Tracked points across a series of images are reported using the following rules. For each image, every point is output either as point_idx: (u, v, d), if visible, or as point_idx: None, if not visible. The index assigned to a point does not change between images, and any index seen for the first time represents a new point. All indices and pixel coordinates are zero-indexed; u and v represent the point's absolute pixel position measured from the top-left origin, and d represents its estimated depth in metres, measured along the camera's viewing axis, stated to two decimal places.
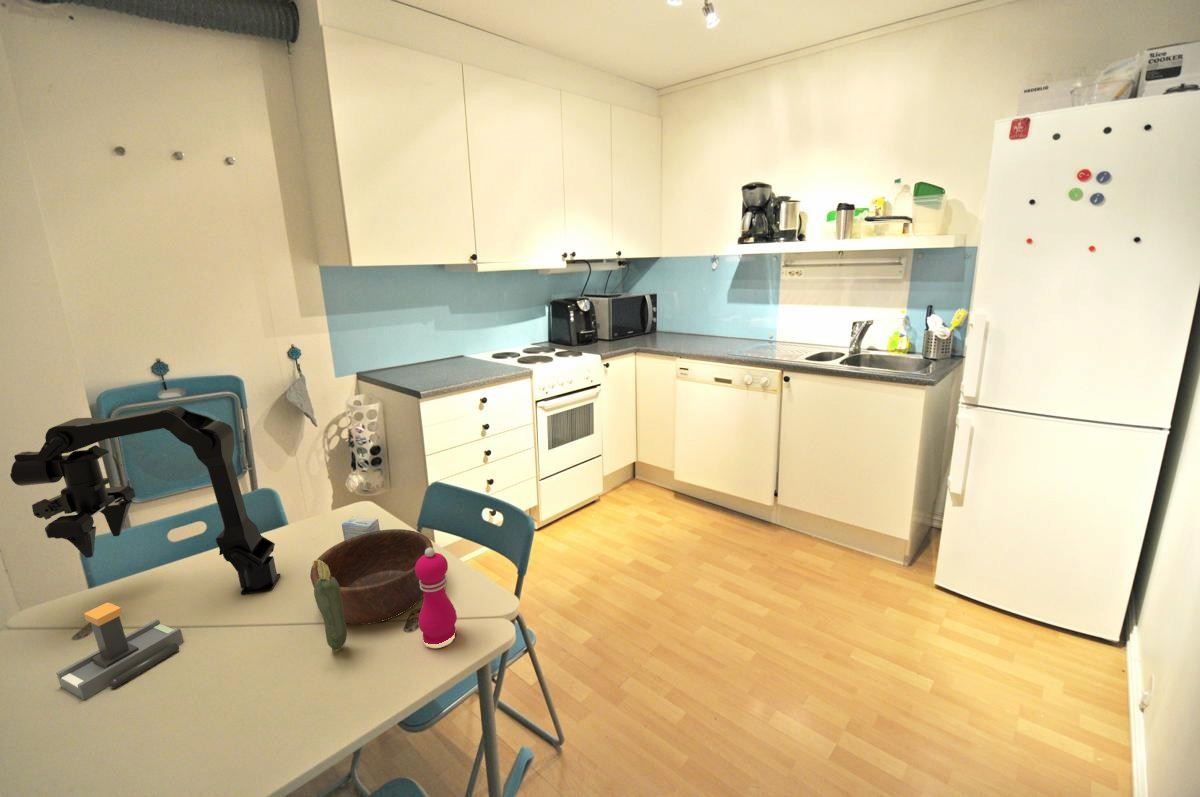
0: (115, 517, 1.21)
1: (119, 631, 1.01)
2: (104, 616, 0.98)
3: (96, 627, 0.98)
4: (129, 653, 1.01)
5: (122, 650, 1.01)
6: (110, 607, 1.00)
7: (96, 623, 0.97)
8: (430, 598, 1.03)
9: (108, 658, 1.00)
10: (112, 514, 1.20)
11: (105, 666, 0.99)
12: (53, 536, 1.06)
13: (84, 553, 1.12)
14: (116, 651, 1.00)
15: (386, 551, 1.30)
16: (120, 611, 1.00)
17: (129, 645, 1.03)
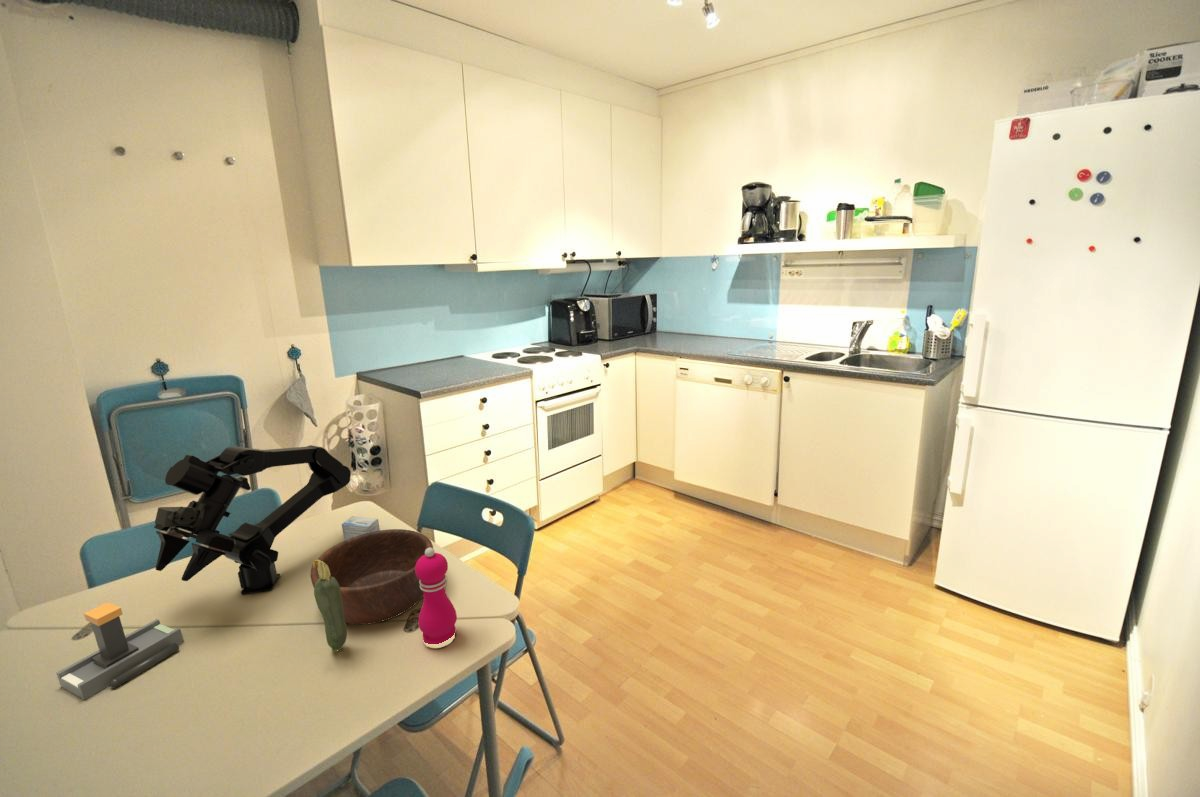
0: (172, 550, 1.14)
1: (119, 631, 1.01)
2: (104, 616, 0.98)
3: (96, 627, 0.98)
4: (129, 653, 1.01)
5: (122, 650, 1.01)
6: (110, 607, 1.00)
7: (96, 623, 0.97)
8: (430, 598, 1.03)
9: (108, 658, 1.00)
10: (172, 545, 1.14)
11: (105, 666, 0.99)
12: (212, 545, 1.07)
13: (187, 574, 1.07)
14: (116, 651, 1.00)
15: (386, 551, 1.30)
16: (120, 611, 1.00)
17: (129, 645, 1.03)
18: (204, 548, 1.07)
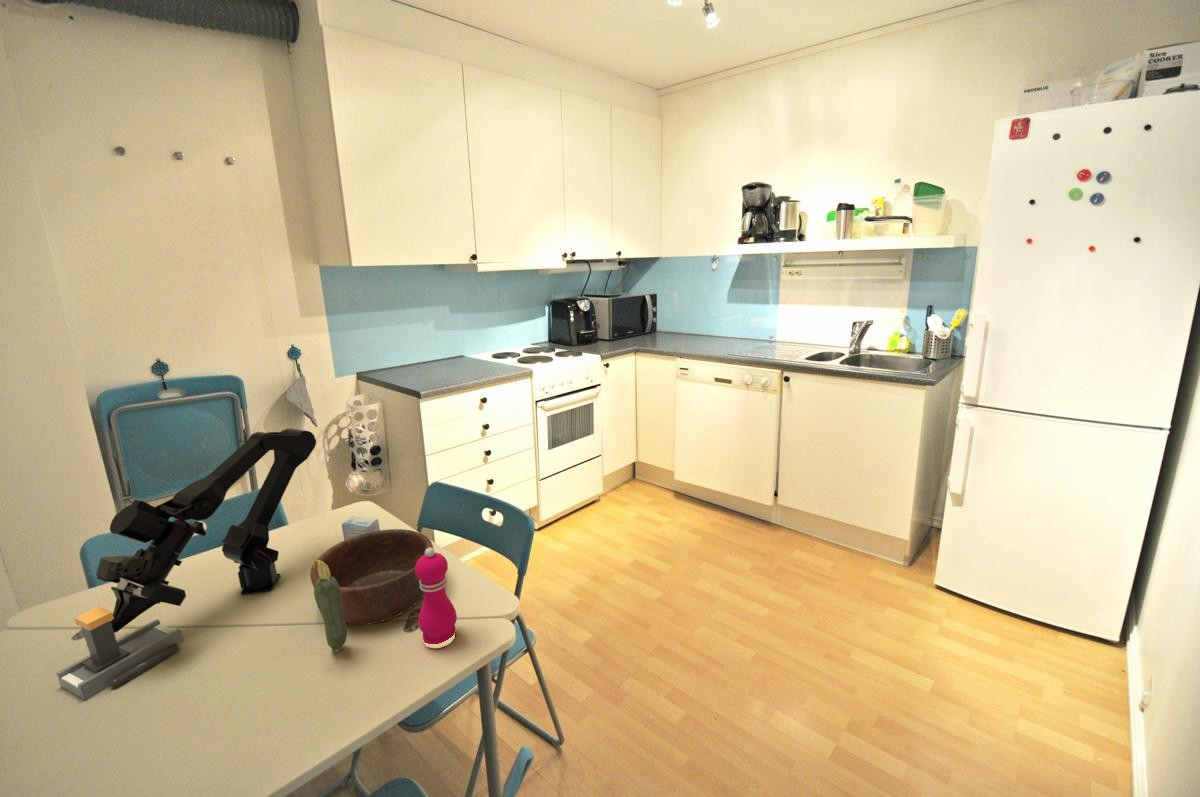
0: None
1: (110, 636, 0.99)
2: (95, 621, 0.96)
3: (87, 632, 0.97)
4: (120, 658, 1.00)
5: (113, 655, 1.00)
6: (101, 611, 0.99)
7: (87, 628, 0.96)
8: (430, 598, 1.03)
9: (99, 663, 0.98)
10: None
11: (96, 671, 0.97)
12: (159, 599, 0.99)
13: (117, 625, 1.01)
14: (107, 655, 0.99)
15: (386, 551, 1.30)
16: (111, 615, 0.99)
17: (121, 650, 1.02)
18: (136, 597, 1.01)
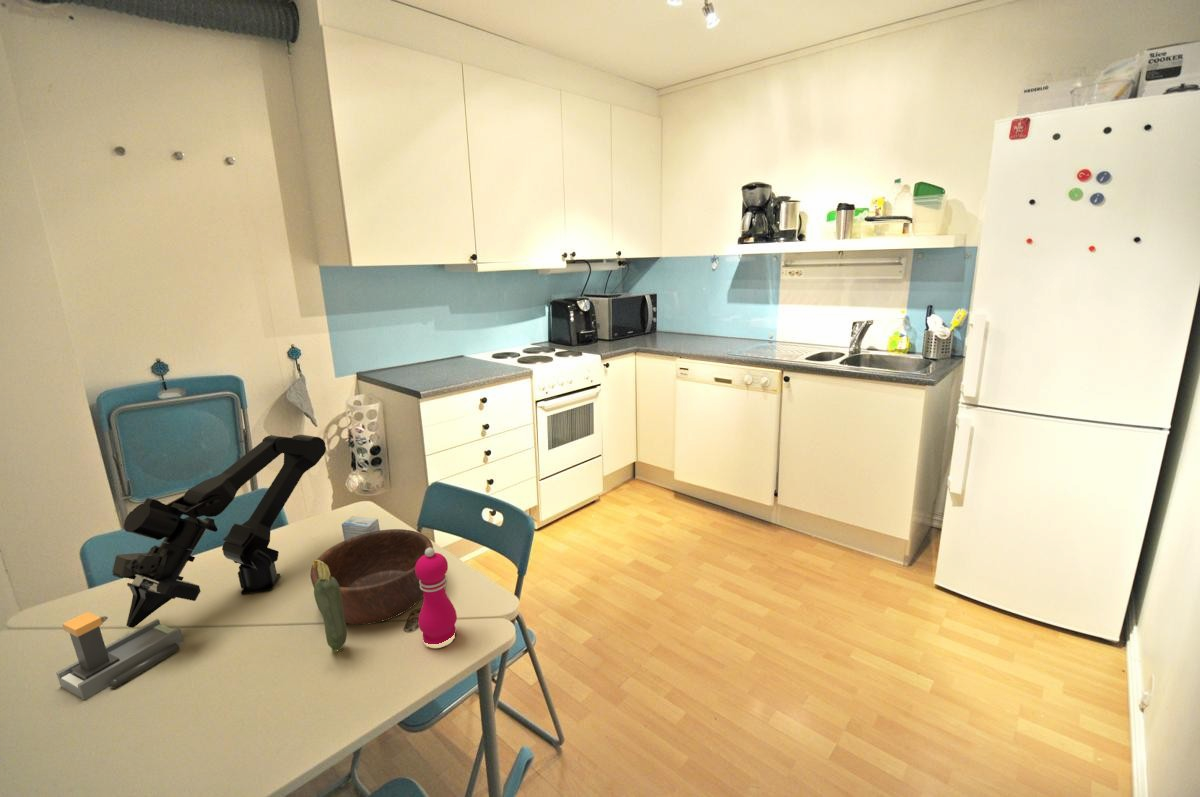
0: None
1: (99, 642, 0.98)
2: (83, 626, 0.95)
3: (75, 638, 0.96)
4: (109, 664, 0.99)
5: (102, 661, 0.98)
6: (90, 617, 0.97)
7: (75, 634, 0.94)
8: (430, 598, 1.03)
9: (87, 669, 0.97)
10: None
11: (84, 678, 0.96)
12: (174, 595, 1.01)
13: (134, 620, 1.03)
14: (96, 662, 0.98)
15: (386, 551, 1.30)
16: (100, 621, 0.97)
17: (110, 656, 1.01)
18: (152, 593, 1.03)
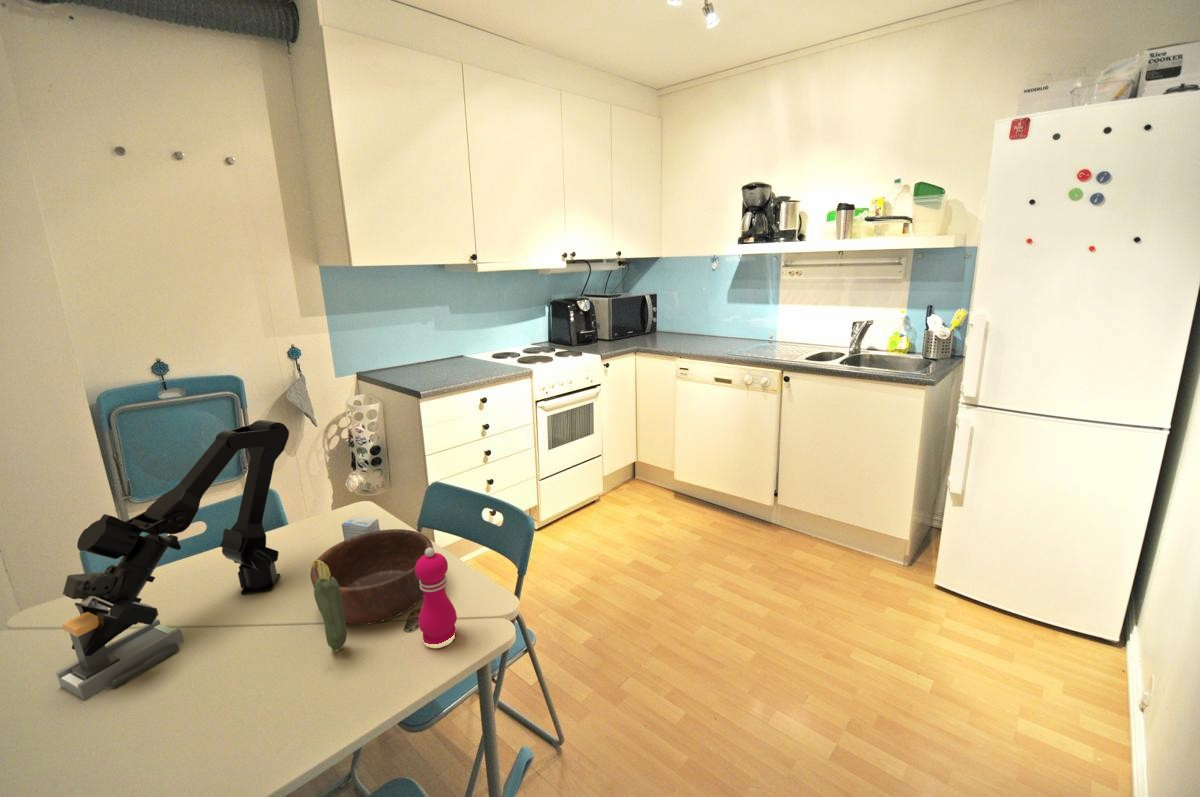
0: None
1: None
2: (83, 626, 0.95)
3: (75, 638, 0.96)
4: (109, 664, 0.99)
5: (102, 661, 0.98)
6: (90, 617, 0.97)
7: (75, 634, 0.94)
8: (430, 598, 1.03)
9: (87, 669, 0.97)
10: None
11: (84, 678, 0.96)
12: (128, 619, 0.95)
13: (91, 648, 0.96)
14: (96, 662, 0.98)
15: (386, 551, 1.30)
16: None
17: (110, 656, 1.01)
18: (111, 619, 0.96)
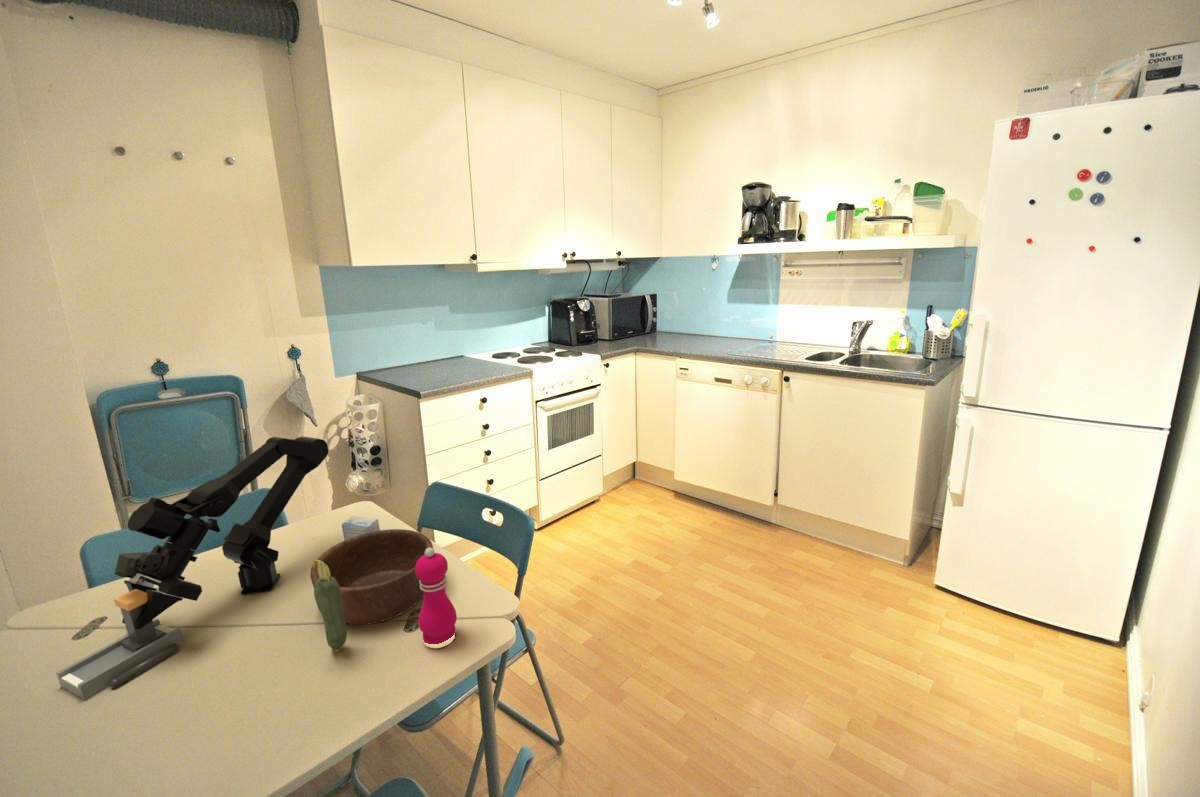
0: None
1: None
2: (133, 601, 1.02)
3: (126, 612, 1.02)
4: (156, 638, 1.05)
5: (150, 635, 1.05)
6: (139, 593, 1.04)
7: (126, 608, 1.01)
8: (430, 598, 1.03)
9: (137, 642, 1.04)
10: None
11: (134, 650, 1.03)
12: (176, 594, 1.02)
13: (141, 622, 1.03)
14: (144, 635, 1.04)
15: (386, 551, 1.30)
16: None
17: (156, 630, 1.07)
18: (159, 594, 1.03)
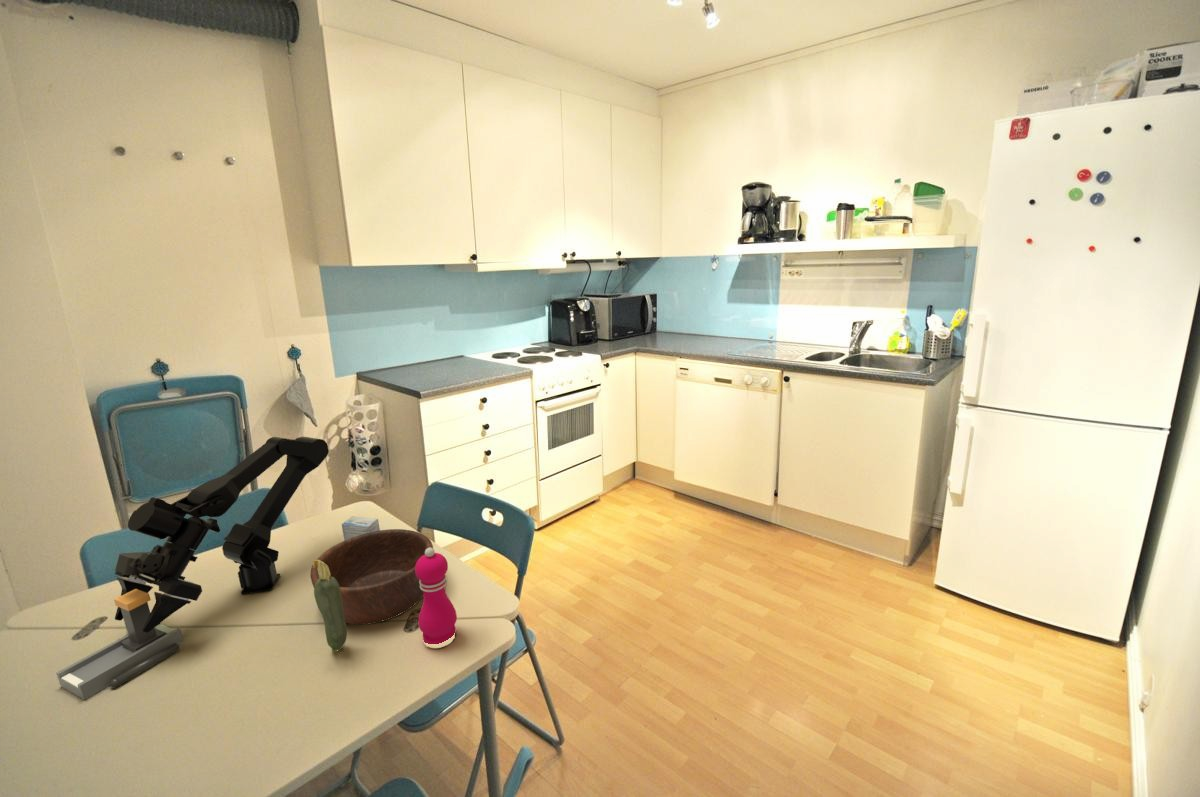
0: None
1: (147, 616, 1.05)
2: (133, 601, 1.02)
3: (126, 612, 1.02)
4: (156, 638, 1.05)
5: (150, 635, 1.05)
6: (139, 593, 1.04)
7: (126, 608, 1.01)
8: (430, 598, 1.03)
9: (137, 642, 1.04)
10: None
11: (134, 650, 1.03)
12: (176, 594, 1.02)
13: (149, 625, 1.02)
14: (144, 635, 1.04)
15: (386, 551, 1.30)
16: (148, 597, 1.04)
17: (156, 630, 1.07)
18: (167, 597, 1.02)
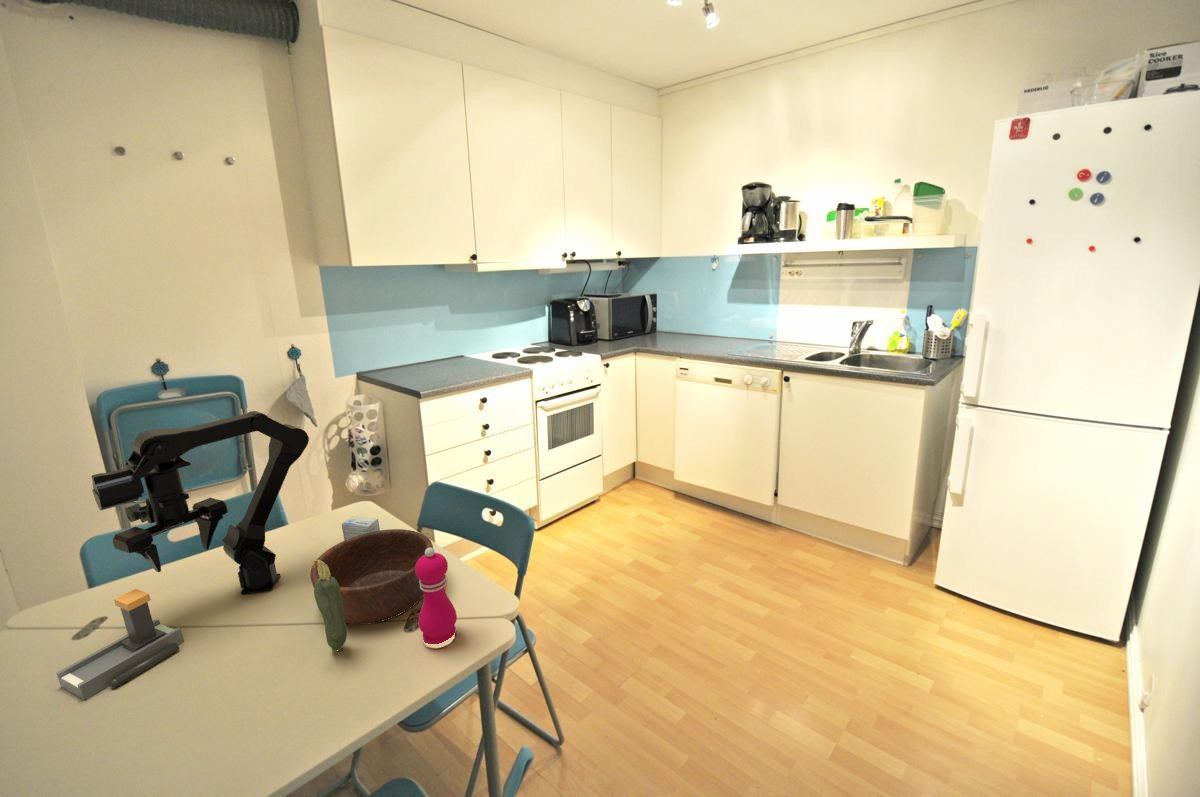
0: (204, 531, 1.17)
1: (147, 616, 1.05)
2: (133, 601, 1.02)
3: (126, 612, 1.02)
4: (156, 638, 1.05)
5: (150, 635, 1.05)
6: (139, 593, 1.04)
7: (126, 608, 1.01)
8: (430, 598, 1.03)
9: (137, 642, 1.04)
10: (202, 527, 1.17)
11: (134, 650, 1.03)
12: (116, 547, 1.04)
13: (153, 567, 1.09)
14: (144, 635, 1.04)
15: (386, 551, 1.30)
16: (148, 597, 1.04)
17: (156, 630, 1.07)
18: None
